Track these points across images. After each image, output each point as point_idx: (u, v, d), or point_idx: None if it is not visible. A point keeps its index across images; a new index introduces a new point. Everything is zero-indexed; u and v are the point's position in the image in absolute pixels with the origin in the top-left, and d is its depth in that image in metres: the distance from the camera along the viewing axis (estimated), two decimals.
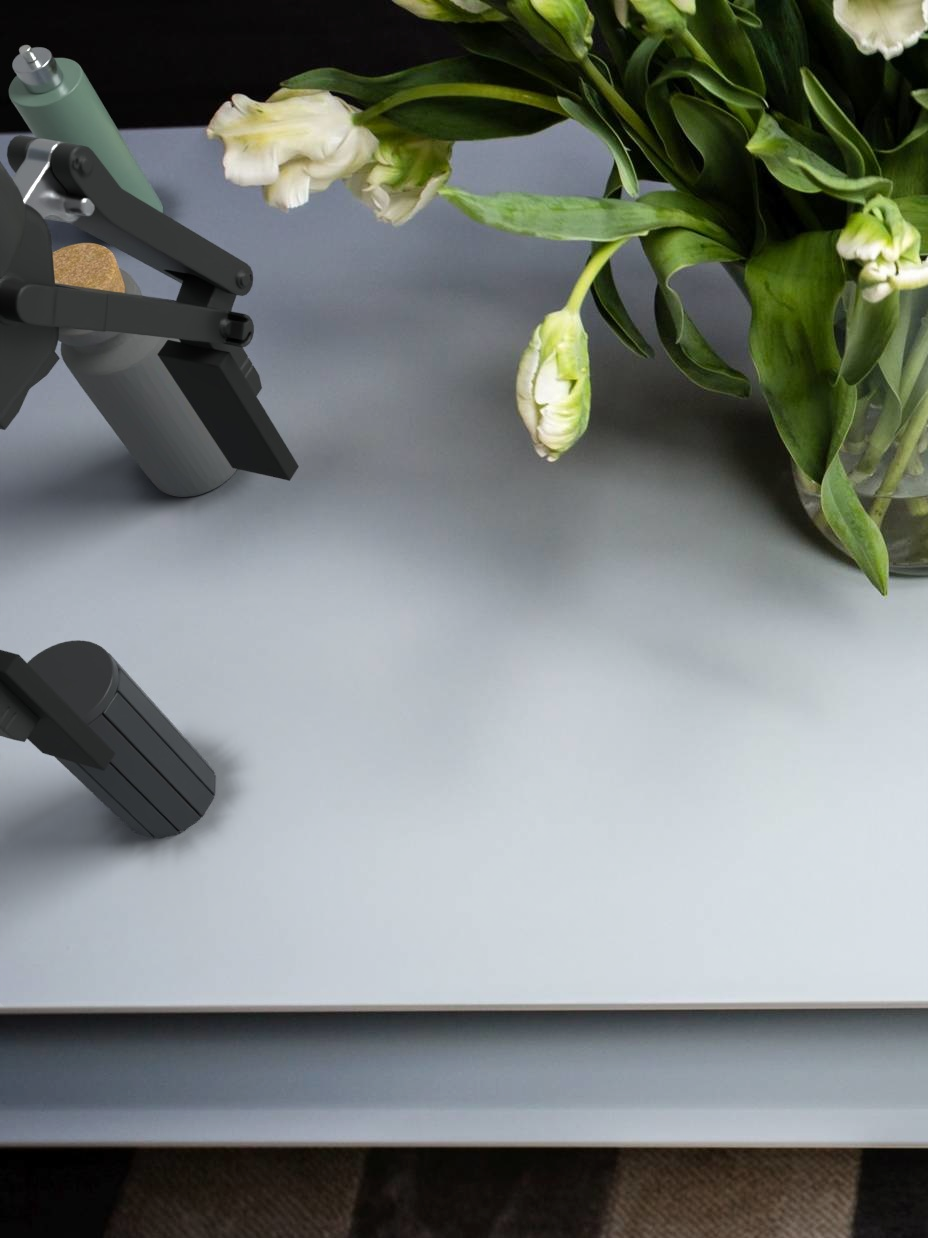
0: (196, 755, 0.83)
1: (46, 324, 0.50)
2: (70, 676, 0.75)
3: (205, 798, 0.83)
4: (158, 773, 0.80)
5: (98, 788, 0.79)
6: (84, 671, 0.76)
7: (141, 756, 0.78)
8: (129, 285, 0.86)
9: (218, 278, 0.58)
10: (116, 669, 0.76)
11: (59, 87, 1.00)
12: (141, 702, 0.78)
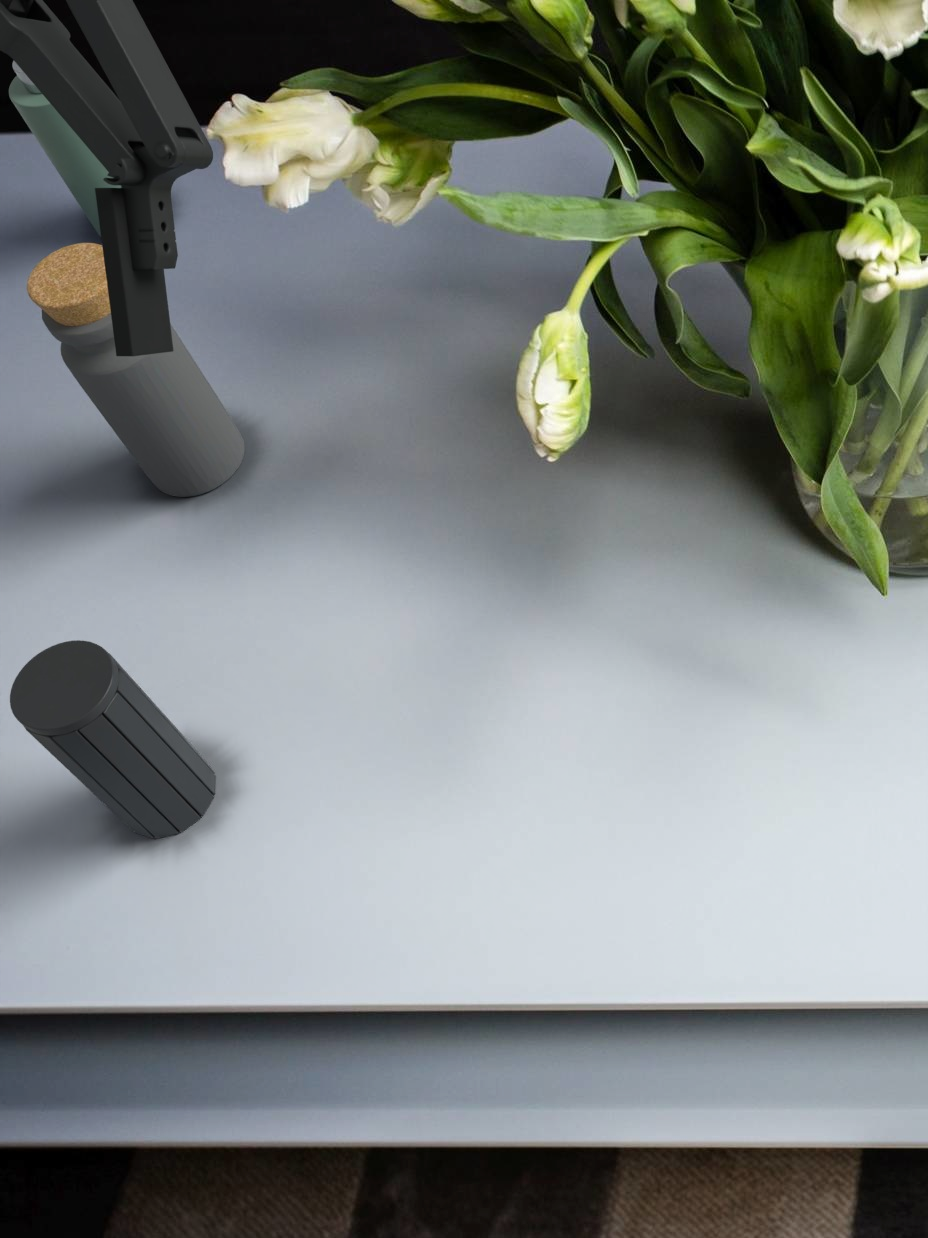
0: (196, 755, 0.83)
1: None
2: (70, 676, 0.75)
3: (205, 798, 0.83)
4: (158, 773, 0.80)
5: (98, 788, 0.79)
6: (84, 671, 0.76)
7: (141, 756, 0.78)
8: None
9: None
10: (116, 669, 0.76)
11: None
12: (141, 702, 0.78)
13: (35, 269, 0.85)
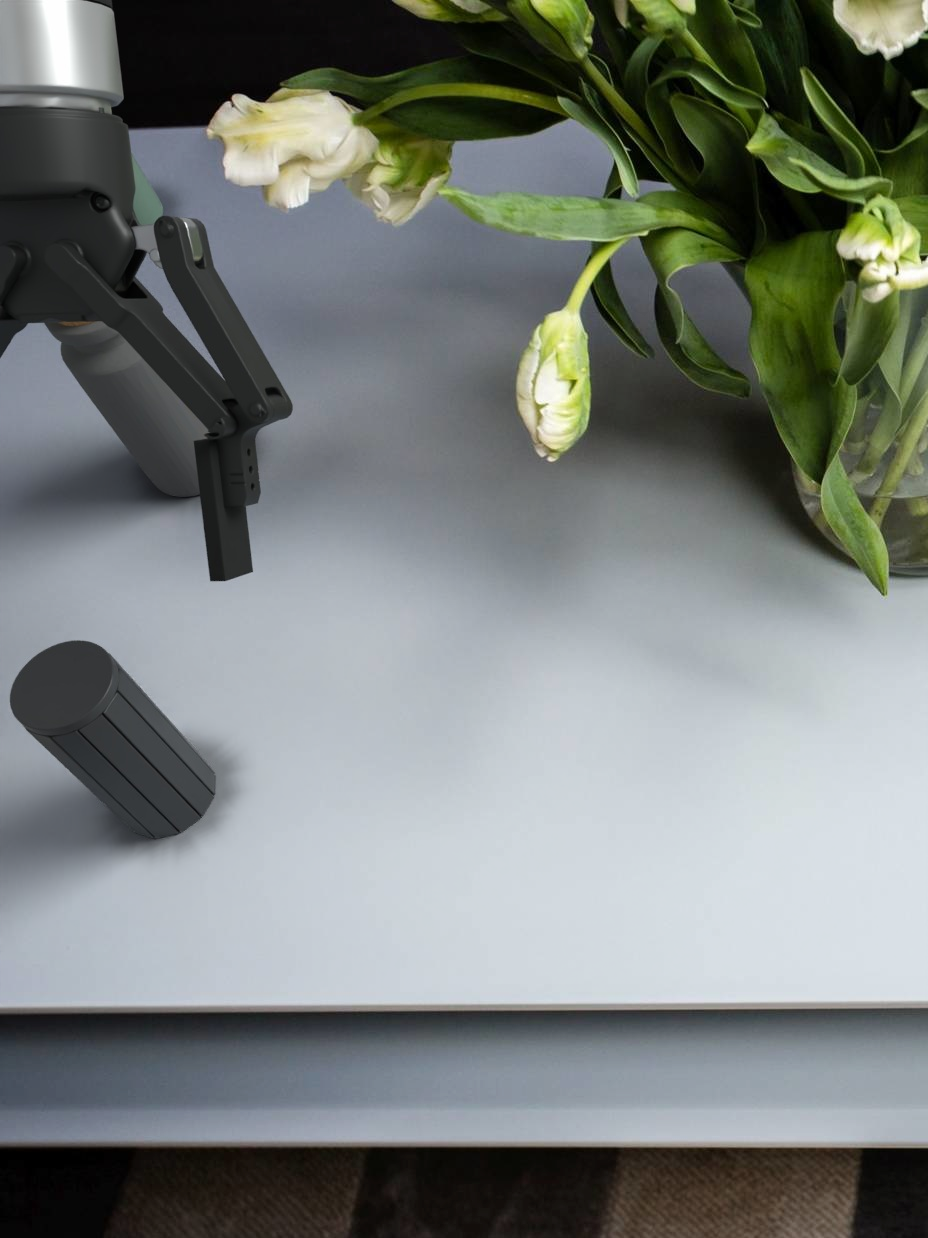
0: (196, 755, 0.83)
1: None
2: (70, 676, 0.75)
3: (205, 798, 0.83)
4: (158, 773, 0.80)
5: (98, 788, 0.79)
6: (84, 671, 0.76)
7: (141, 756, 0.78)
8: None
9: None
10: (116, 669, 0.76)
11: None
12: (141, 702, 0.78)
13: None
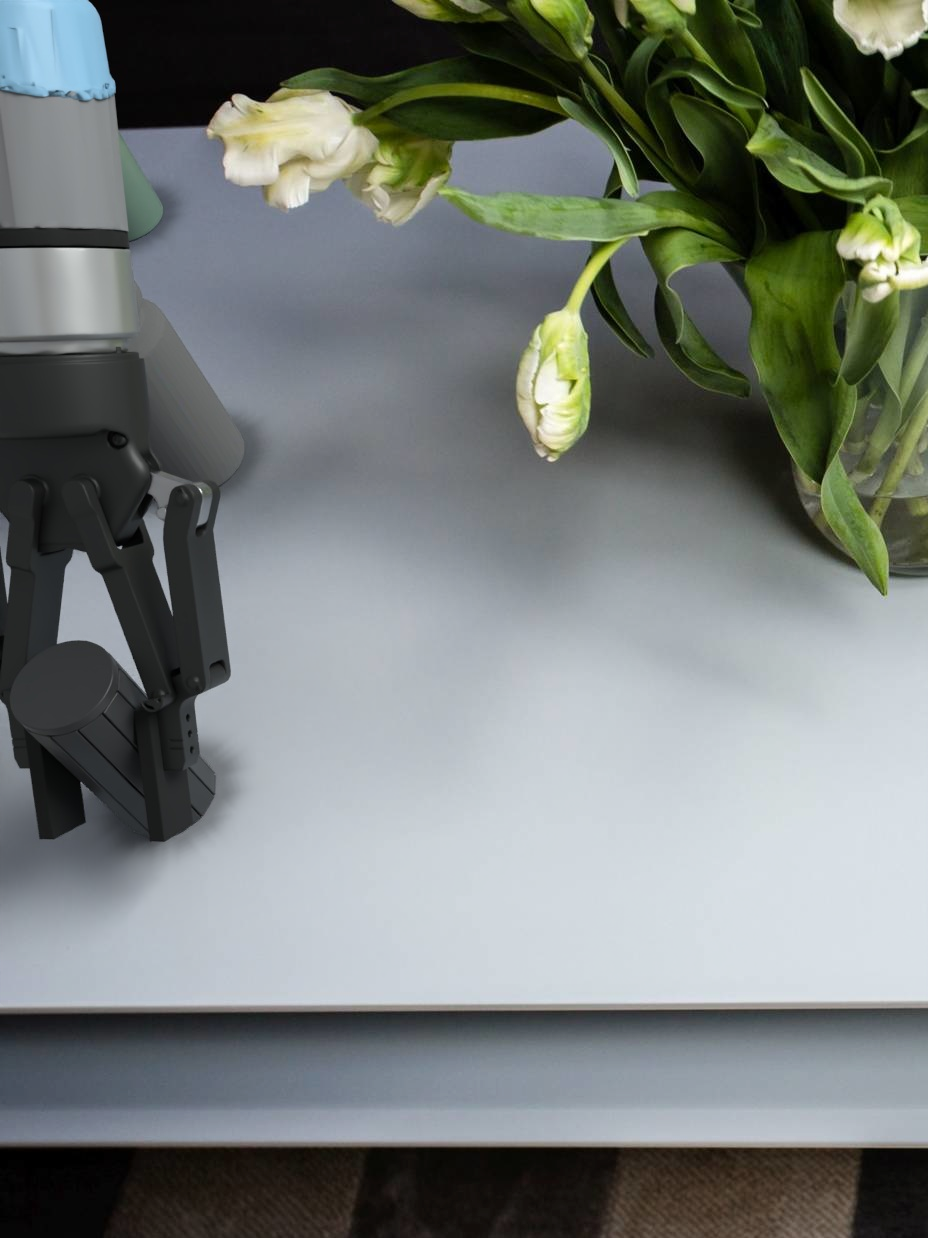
0: None
1: None
2: (70, 676, 0.75)
3: (205, 797, 0.83)
4: None
5: (98, 788, 0.79)
6: (84, 671, 0.76)
7: None
8: None
9: None
10: (116, 669, 0.76)
11: None
12: None
13: None
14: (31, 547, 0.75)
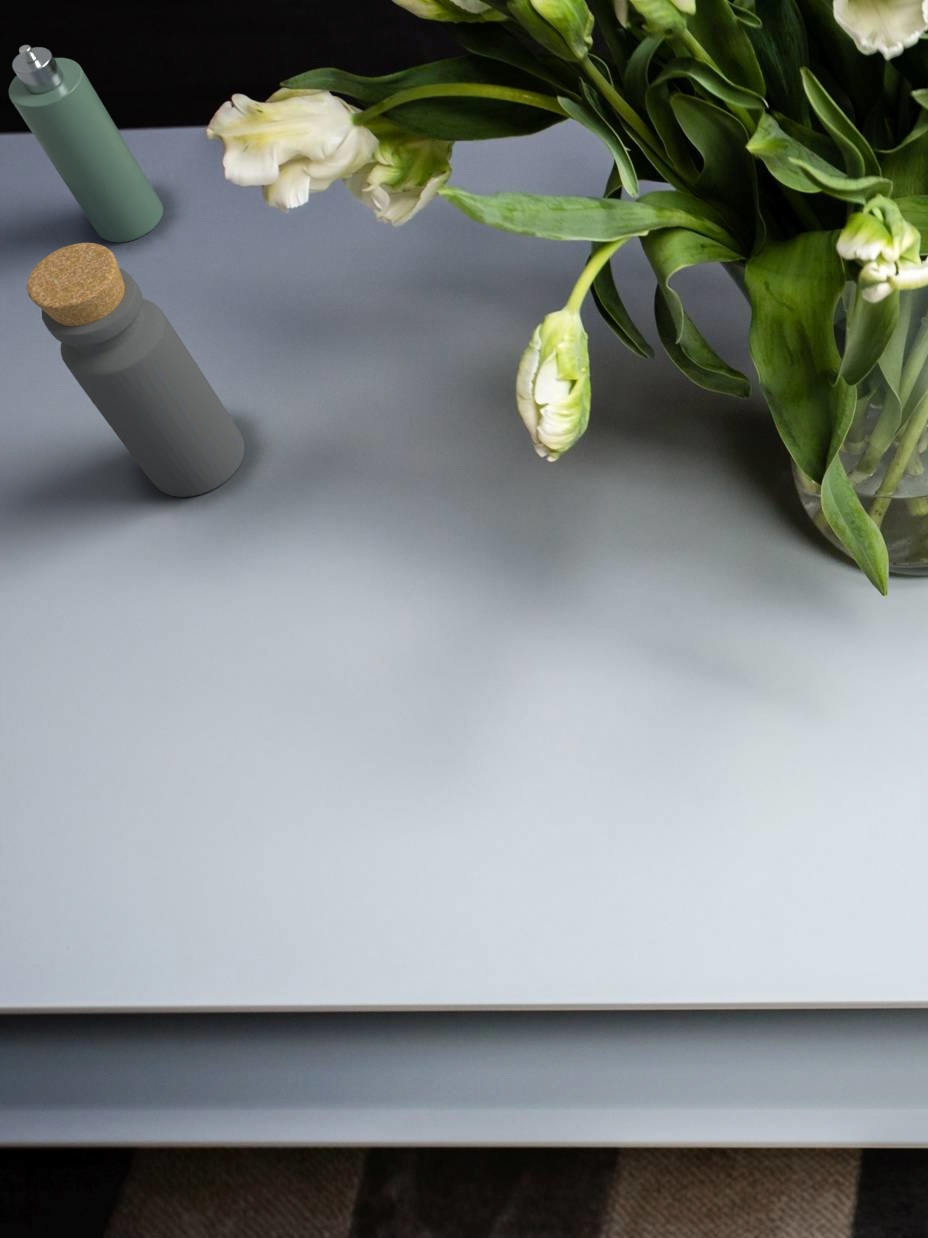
0: None
1: None
2: None
3: None
4: None
5: None
6: None
7: None
8: (129, 285, 0.86)
9: None
10: None
11: (59, 87, 1.00)
12: None
13: (35, 269, 0.85)
14: None
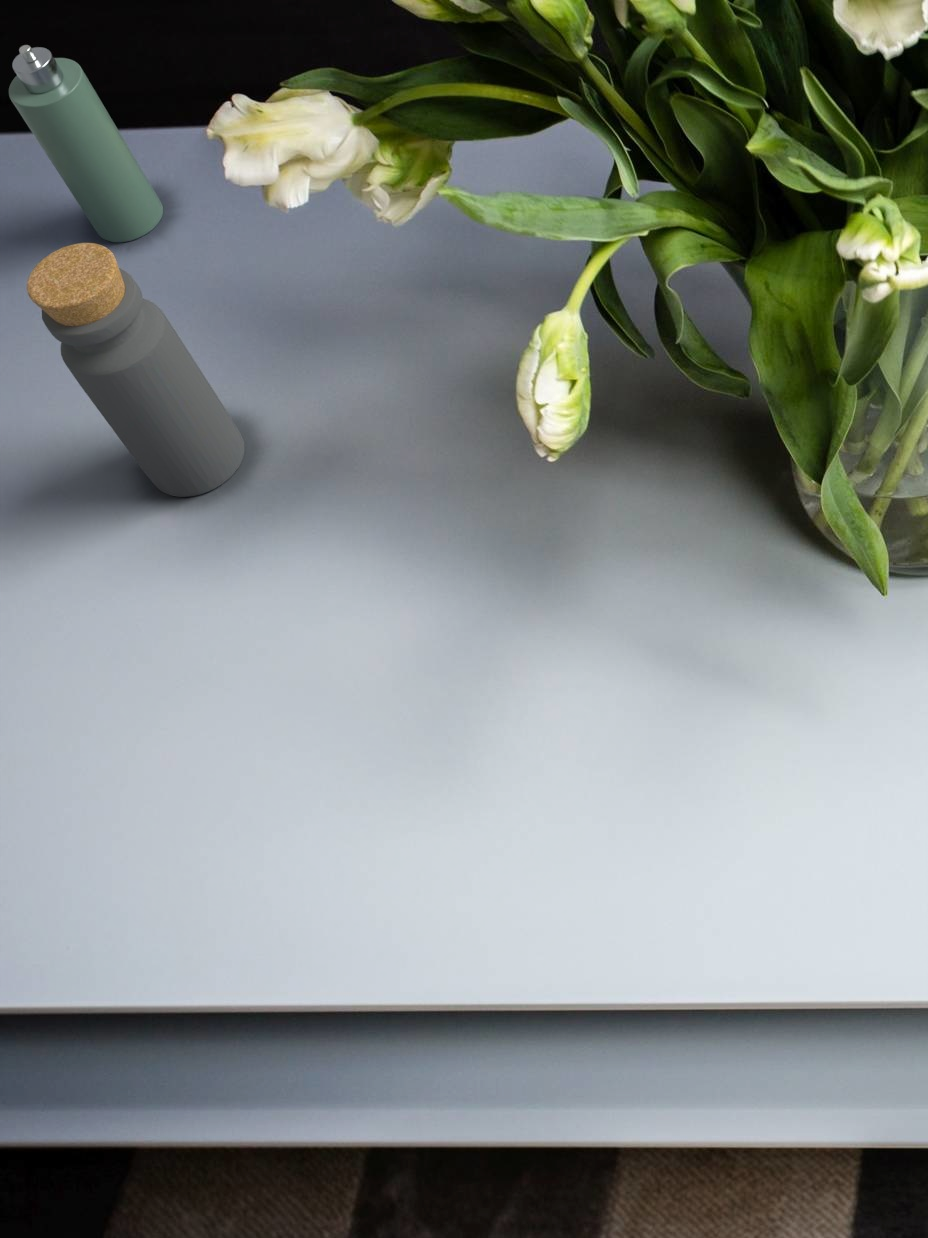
0: None
1: None
2: None
3: None
4: None
5: None
6: None
7: None
8: (129, 285, 0.86)
9: None
10: None
11: (59, 87, 1.00)
12: None
13: (35, 269, 0.85)
14: None
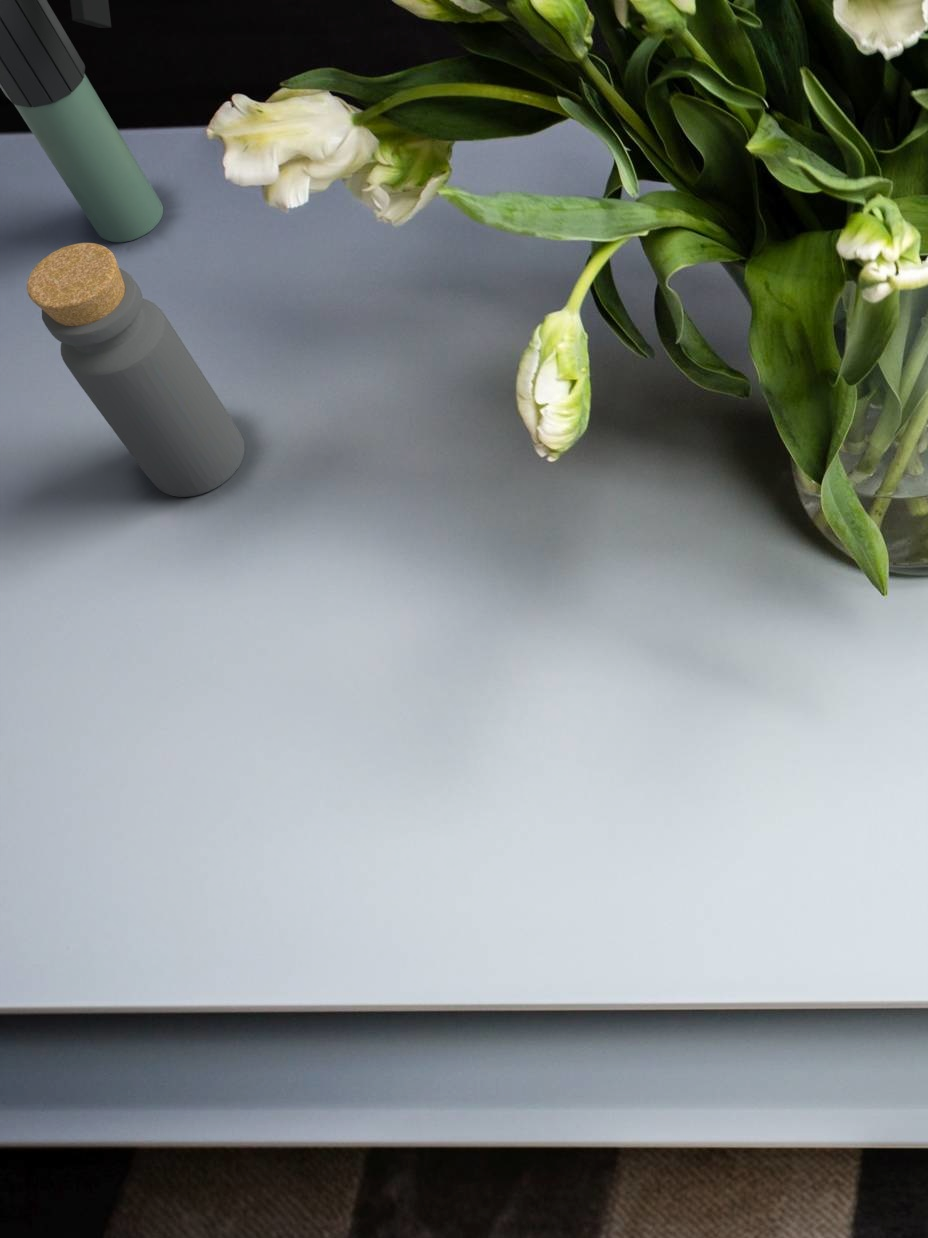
0: (66, 35, 0.99)
1: None
2: None
3: (74, 75, 0.99)
4: (29, 25, 0.95)
5: None
6: None
7: None
8: (129, 285, 0.86)
9: None
10: None
11: None
12: None
13: (35, 269, 0.85)
14: None
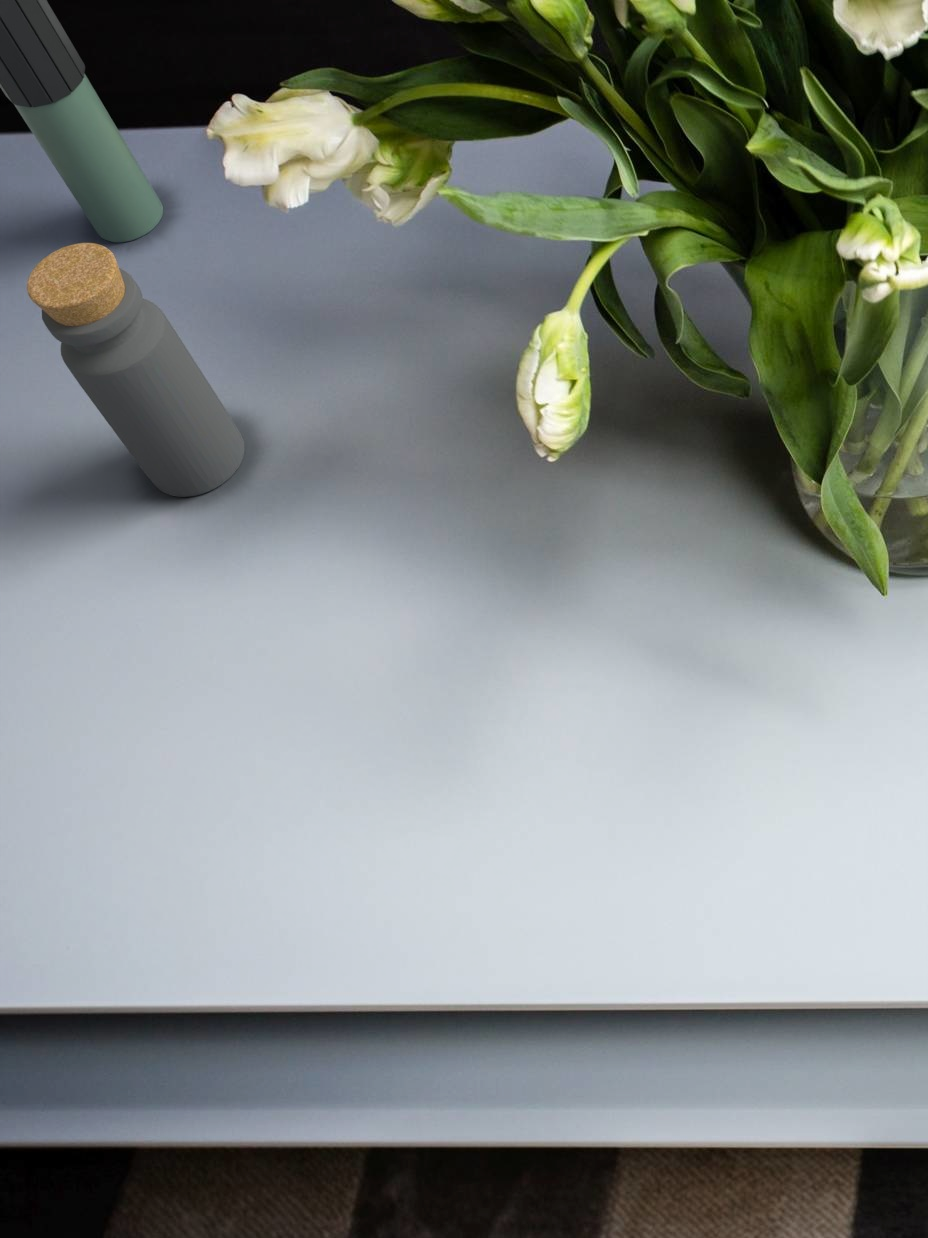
0: (66, 35, 0.99)
1: None
2: None
3: (74, 75, 0.99)
4: (29, 25, 0.95)
5: None
6: None
7: None
8: (129, 285, 0.86)
9: None
10: None
11: None
12: None
13: (35, 269, 0.85)
14: None
